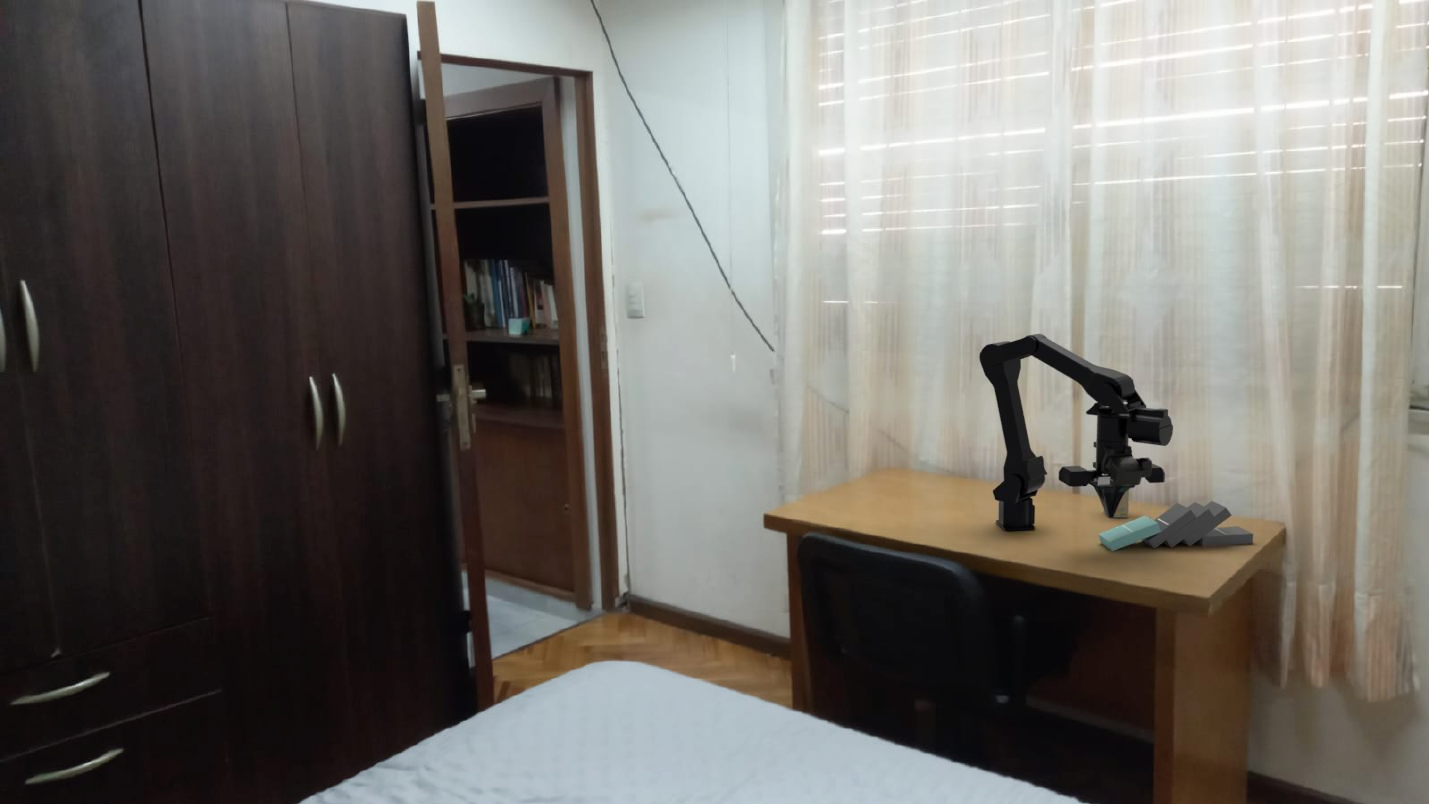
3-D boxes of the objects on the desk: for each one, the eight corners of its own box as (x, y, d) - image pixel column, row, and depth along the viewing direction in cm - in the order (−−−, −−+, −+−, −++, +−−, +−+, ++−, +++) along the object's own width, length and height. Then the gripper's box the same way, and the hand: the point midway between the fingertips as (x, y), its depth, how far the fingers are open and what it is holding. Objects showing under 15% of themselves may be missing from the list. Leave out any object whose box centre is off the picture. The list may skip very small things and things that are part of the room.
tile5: (1202, 536, 186) (1253, 533, 186) (1189, 529, 190) (1238, 526, 191) (1202, 546, 186) (1252, 543, 186) (1188, 539, 191) (1237, 536, 191)
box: (1128, 518, 206) (1130, 468, 204) (1107, 517, 207) (1108, 467, 205) (1123, 511, 211) (1124, 462, 209) (1102, 511, 212) (1104, 462, 210)
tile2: (1148, 541, 185) (1190, 509, 185) (1136, 533, 190) (1177, 502, 189) (1154, 548, 185) (1196, 517, 185) (1141, 541, 190) (1182, 510, 190)
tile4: (1183, 538, 185) (1226, 507, 185) (1170, 531, 190) (1211, 500, 190) (1189, 546, 186) (1231, 515, 185) (1176, 539, 191) (1217, 508, 190)
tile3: (1166, 540, 185) (1208, 508, 185) (1153, 532, 190) (1194, 501, 189) (1171, 547, 186) (1214, 516, 185) (1159, 540, 191) (1200, 509, 190)
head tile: (1109, 541, 185) (1157, 522, 185) (1098, 534, 190) (1145, 515, 190) (1112, 551, 185) (1160, 532, 185) (1101, 543, 190) (1148, 524, 190)
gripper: (1082, 450, 176) (1080, 531, 178) (1181, 445, 177) (1178, 526, 179) (1058, 438, 187) (1056, 515, 189) (1151, 433, 188) (1149, 510, 190)
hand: (1109, 517), depth 187 cm, fingers closed
